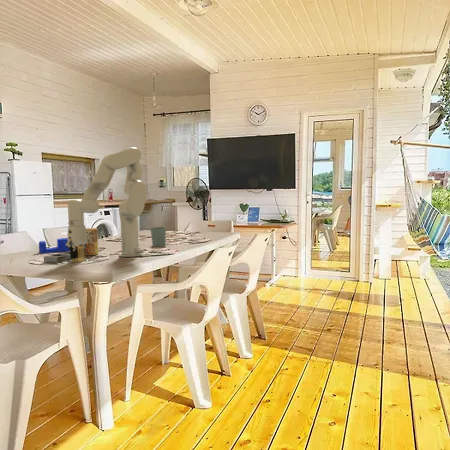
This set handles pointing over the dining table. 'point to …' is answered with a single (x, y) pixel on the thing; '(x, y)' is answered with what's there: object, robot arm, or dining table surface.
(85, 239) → the robot arm
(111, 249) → the dining table surface
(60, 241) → the bracket
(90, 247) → the candy box
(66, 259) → the grey flat frame
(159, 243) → the green cup
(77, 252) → the tan shipping carton
